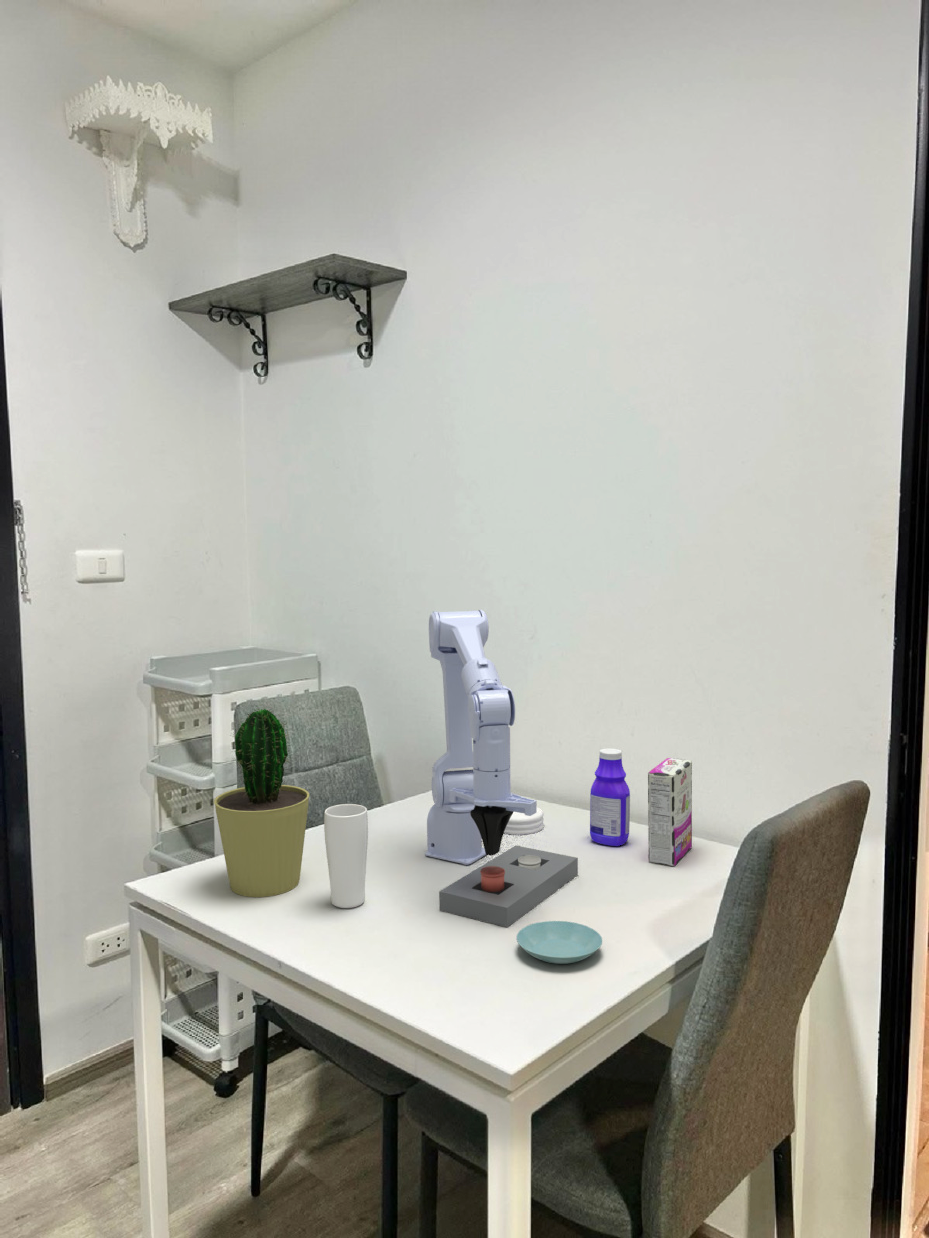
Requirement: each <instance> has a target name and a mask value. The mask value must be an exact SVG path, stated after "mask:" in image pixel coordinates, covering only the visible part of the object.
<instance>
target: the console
mask: <svg viewBox="0 0 929 1238" xmlns="http://www.w3.org/2000/svg"><path fill="white" fill-rule="evenodd" d="M527 855H531V856H537V857H539V858H540V859H541V863H540V867H539V868H538V869H536V870H534V869H529V868H525V867H520V866H519V863H518V858H519V857H521V856H527ZM578 859H579V858H578V857H577V856H576V857H575V856H570V855H566V854H560V853H555V852H550V851H545V850H542V849H541V850H540V849H536V848H535V849H534V848H531V847H526V846H522V845H521V846H520V845H514V846H512V847H510V848H509V849H507V850H505V851H504V852H502V853H501V854H499V855H497V856H496V857H494V858H492V859H490V860H489V861H487V862H486V863H484V864H482V865H481V866H479V867H478V868H476V869H474V870H472V871H471V872H469V873H468V874H465V875H464V876H462V877H461V878H459V879H457V880H456V881H454V882H453V883H451V884H449V885H447V886H445V887H444V888H443V889H440V891H439V892H438V894H439V895H438V897H439V901H438V903H439V904H438V905H439V911H441V912H446V913H449V914H453V915H457V916H461V917H465V918H468V919H473V920H476V921H480V922H483V923H488V924H492V925H496V926H500V927H504V928H509V927H510V926H512V925H513V924H514V923H515V922H516V921H518V920H520V919H521V918H522V917H524V916H525V915H526V914H527V913H529V912H530V911H532V910H533V909H534V908H535V907H537V906H538V905H540V904H541V903H542V902H544V901H545V900H546V899H547V898H549V897H550V896H553V894H554V893H555V892H557V891H558V890H560V889H561V888H562V887H564V886H565V885H566V884H567V883H569V882H570V881H572V880H573V879H574V878H576V877H577V876H579V871H578V869H579V860H578ZM488 866H497V867H501V868H503V869H504V870H505V874H504V889H503V890H501V891H498V892H488V891H484V890H482V888H481V874H480V870H481V869H482V868H484V867H488Z"/></svg>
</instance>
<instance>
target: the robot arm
mask: <svg viewBox="0 0 929 1238" xmlns="http://www.w3.org/2000/svg"><path fill="white" fill-rule="evenodd" d="M428 618H429V619H428V639H429V640H428V645H429V652H430V658H433V659H435V660H436V661H439V663H440V668H441V671H442V685H443V703H444V704H443V705H444V722H445V723H444V727H445V739H446V740H445V741H446V743H445V744H446V752H445V753H444V754H443V755H441V756H440V757H439V758H438V759H436V760H435V761H434V763H433V765H432V767H431V768H432V769H431V770H432V776H431V794H432V795H431V796H432V800H433V803H434V804H433V805H432V806H431V807H430V809H429V811H428V815H427V818H426V836H427V837H426V839H427V840H426V843H427V844H426V847H427V848H426V849H427V850H426V852H425V853H424V856H427V857H430V858H435V859H438V860H442V861H443V860H444V861H449V862H453V863H456V864H457V863H458V864H463V865H467V866H469V865H471V864H473V863H475V862H476V861H479V860H480V859H482V858H484V857H485V856H486V855H488V856H495V855H496V854H498V853H500V849H501V844H502V840H503V837H504V831H505V828H506V826H507V824H508V822H509V819H510V818H511V816H512V814H513V812H519V813H525V815H527V816H531V815H533V814H535V813H537V807H538V806H537V800H535V799H531V798H527V797H524V796H521V795H518V794H515V793H512V792H511V727H512V726H513V725H514V724H515V720H516V702H515V697H514V693H513V691H512V689H511V688H510V687H507V685H503V684H502V682H501V681H502V680H501V678H500V676H499V673H498V670H497V668H496V665H495V663H494V662H493V661H492V660H490V659H489V658H488V659H487V658H486V654H485V649H484V648H485V645H486V643H487V641H488V638H489V633H490V632H489V618H488V615H487V614H486V612H485V611H484V610H483V609H478V610H466V611H465V610H459V611H432V612H431V614H430V615H429V617H428ZM464 768H472V769H464ZM451 769H460V770H451ZM482 844H483V846H482Z"/></svg>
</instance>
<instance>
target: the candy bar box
mask: <svg viewBox="0 0 929 1238" xmlns="http://www.w3.org/2000/svg"><path fill="white" fill-rule="evenodd" d="M692 764H693V760H690V759H682V758H674V757H666V759H664V760H663V761H661V762H659V764H657V765H656V766H654V767H653V768H652V769H650V770H649V771H648V772H647V803H648V805H647V806H648V807H647V811H648V815H647V817H648V823H647V824H648V828H647V829H648V862H649V863H651V864H655V865H660V866H661V865H662V866H669V867H675V866H676V865H677V864H678V863H679V862H680V861H681V860H682V858H683V857H684V856H685V855H686V854H687V853H688V852H689V850H691V849H692V847H693V843H692V842H693V841H692V840H693V837H692V836H693V835H692V834H693V818H692V817H693V807H692V806H693V804H692V803H693V800H692V799H693V795H692V794H693V791H692V790H693V789H692V788H693V786H692V783H693V779H692V778H693V770H692V768H693V765H692Z"/></svg>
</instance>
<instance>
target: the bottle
mask: <svg viewBox="0 0 929 1238" xmlns="http://www.w3.org/2000/svg"><path fill="white" fill-rule="evenodd" d="M622 752H623V751H622V750H620V749H617V748H610V747H608V748H601V749H600V750H599V755H598V756H599V760H598V766H597V768H596V769H595V771H594V775H595V779H594V780H593V782H592V784H591V787H590V799H589V801H590V802H589V803H590V806H589V807H590V810H589V835H590V839H591V840H592V842H595V844H596V843H597V844H602V845H605V846H611V847H620V845H621V846H623V845H624V844H625V843H626V842H628V839H629V836H630V822H631V821H630V817H631V813H630V812H631V811H630V810H631V791H630V787H629V785H628V783H627V782H626V779H625V778H626V777H627V773H626V771H625V770H624V767H623V766H624V765H623V756H622V755H623V753H622Z"/></svg>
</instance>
